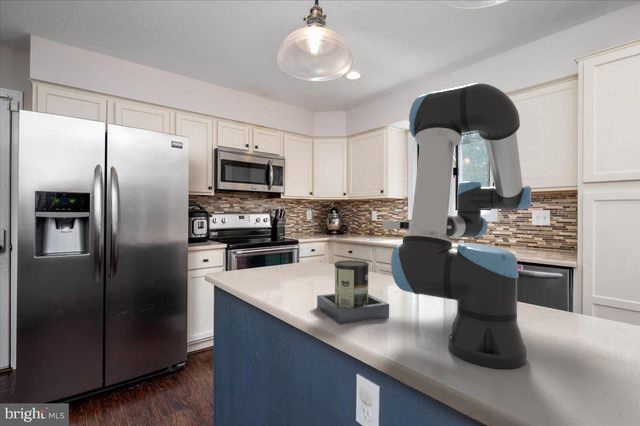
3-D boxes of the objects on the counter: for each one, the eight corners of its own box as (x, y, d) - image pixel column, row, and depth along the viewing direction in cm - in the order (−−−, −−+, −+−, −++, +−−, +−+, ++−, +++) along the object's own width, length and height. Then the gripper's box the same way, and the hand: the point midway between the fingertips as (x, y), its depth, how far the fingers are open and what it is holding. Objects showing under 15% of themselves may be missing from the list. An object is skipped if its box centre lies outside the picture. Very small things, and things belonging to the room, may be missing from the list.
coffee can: (366, 304, 103) (366, 260, 102) (370, 315, 92) (370, 266, 92) (334, 303, 103) (334, 260, 103) (334, 314, 93) (334, 265, 92)
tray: (389, 317, 93) (389, 304, 93) (339, 324, 87) (339, 310, 87) (361, 301, 108) (361, 290, 108) (317, 307, 102) (317, 295, 102)
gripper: (478, 240, 98) (422, 241, 90) (422, 235, 121) (373, 235, 113) (478, 215, 98) (423, 214, 90) (422, 215, 121) (374, 213, 113)
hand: (395, 225), depth 101 cm, fingers open, 13 cm apart
